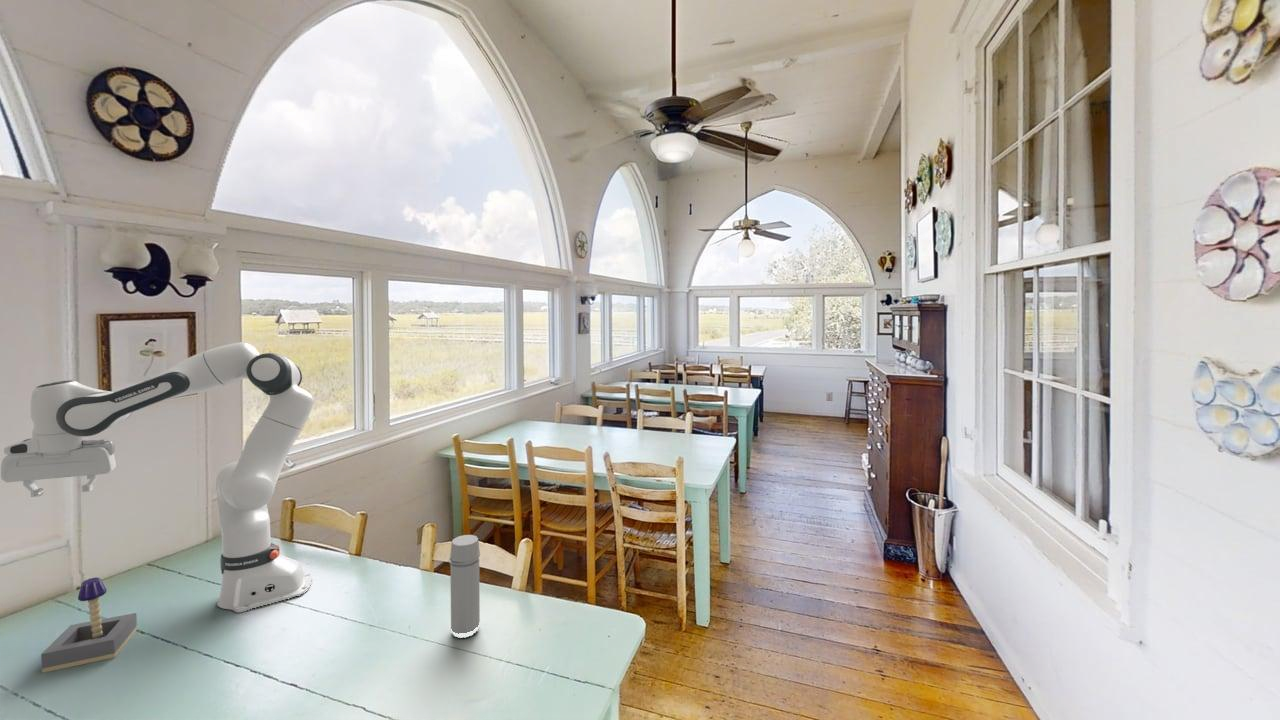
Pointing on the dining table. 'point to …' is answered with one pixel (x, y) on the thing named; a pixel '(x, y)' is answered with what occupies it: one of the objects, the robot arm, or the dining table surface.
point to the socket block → (88, 643)
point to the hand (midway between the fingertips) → (62, 493)
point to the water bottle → (465, 583)
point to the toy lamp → (93, 603)
